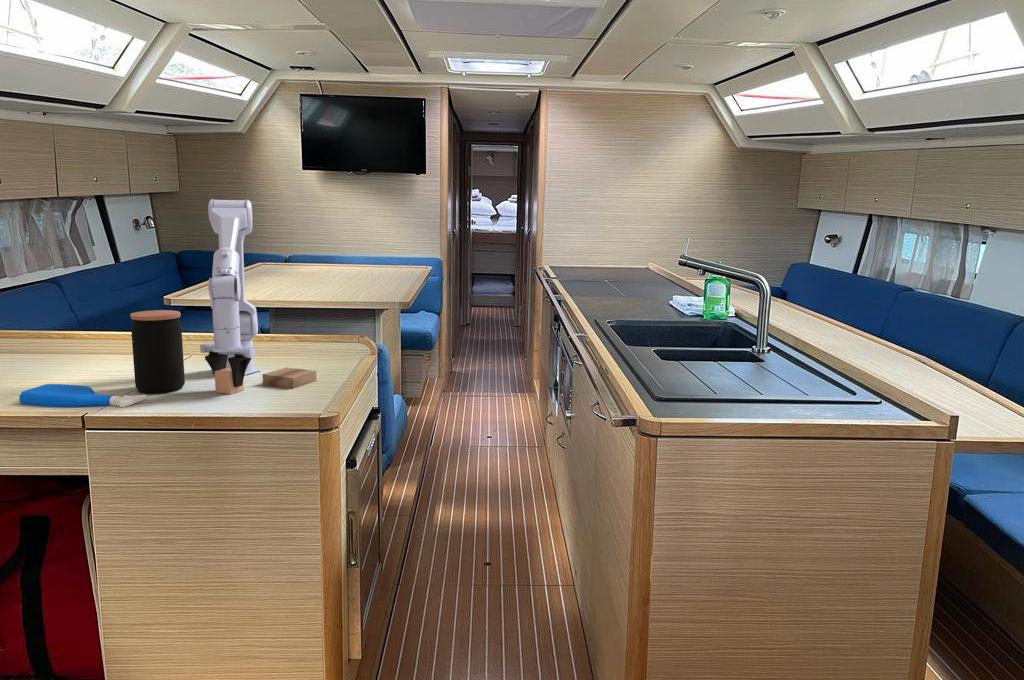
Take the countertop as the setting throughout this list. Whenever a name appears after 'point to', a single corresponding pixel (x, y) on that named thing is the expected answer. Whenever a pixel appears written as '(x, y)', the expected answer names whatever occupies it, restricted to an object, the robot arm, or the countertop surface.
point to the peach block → (226, 382)
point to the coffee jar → (157, 351)
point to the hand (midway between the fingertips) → (229, 385)
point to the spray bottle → (73, 397)
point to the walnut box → (289, 378)
